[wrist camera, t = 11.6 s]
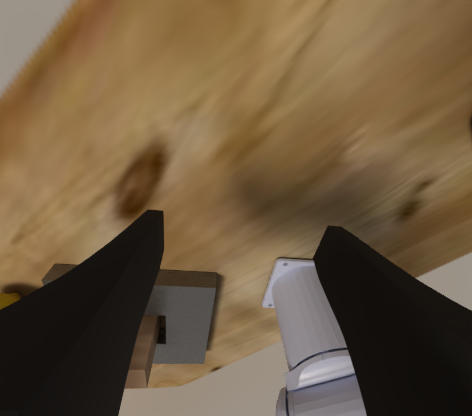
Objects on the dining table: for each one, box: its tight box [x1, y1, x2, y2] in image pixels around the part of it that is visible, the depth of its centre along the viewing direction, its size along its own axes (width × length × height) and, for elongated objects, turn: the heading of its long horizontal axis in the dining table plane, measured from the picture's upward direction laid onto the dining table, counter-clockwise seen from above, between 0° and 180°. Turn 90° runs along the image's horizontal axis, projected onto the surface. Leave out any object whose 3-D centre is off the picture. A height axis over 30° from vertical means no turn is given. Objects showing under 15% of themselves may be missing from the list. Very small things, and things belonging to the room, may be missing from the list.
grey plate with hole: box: [42, 264, 216, 364], centre depth 27 cm, size 16×16×2 cm
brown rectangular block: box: [125, 315, 161, 388], centre depth 25 cm, size 4×4×7 cm
